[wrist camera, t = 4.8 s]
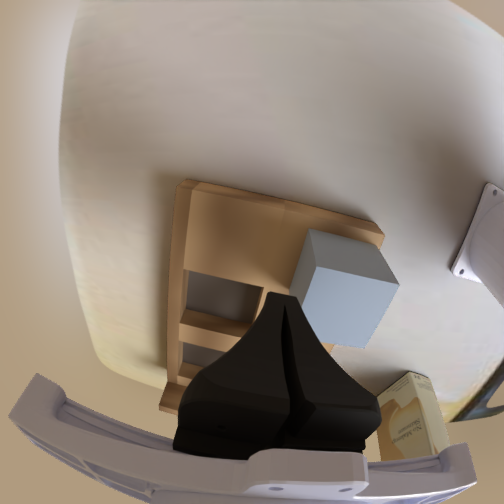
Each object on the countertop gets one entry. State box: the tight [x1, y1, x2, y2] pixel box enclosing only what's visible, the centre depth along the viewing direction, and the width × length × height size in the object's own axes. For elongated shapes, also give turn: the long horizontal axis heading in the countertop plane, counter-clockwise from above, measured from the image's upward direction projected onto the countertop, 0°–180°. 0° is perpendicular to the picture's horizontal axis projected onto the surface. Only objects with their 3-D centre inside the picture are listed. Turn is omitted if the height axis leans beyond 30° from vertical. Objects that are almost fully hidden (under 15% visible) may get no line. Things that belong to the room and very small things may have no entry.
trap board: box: [159, 179, 385, 415], centre depth 21 cm, size 13×20×5 cm, turn 168°
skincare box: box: [377, 372, 450, 461], centre depth 21 cm, size 6×4×12 cm
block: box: [289, 228, 399, 348], centre depth 16 cm, size 4×4×4 cm
